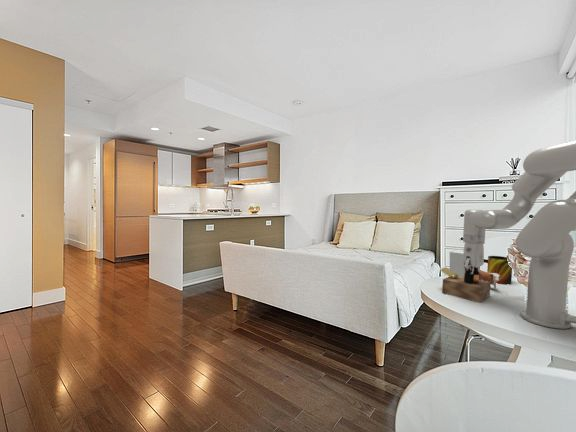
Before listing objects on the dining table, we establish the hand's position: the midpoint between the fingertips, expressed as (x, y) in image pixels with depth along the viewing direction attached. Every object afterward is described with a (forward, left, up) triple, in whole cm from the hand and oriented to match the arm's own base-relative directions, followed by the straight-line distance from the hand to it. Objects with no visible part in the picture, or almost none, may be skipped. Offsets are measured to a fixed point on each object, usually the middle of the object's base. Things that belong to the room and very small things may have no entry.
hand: (471, 281), depth 115 cm
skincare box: (+11, -19, -6) cm, 23 cm away
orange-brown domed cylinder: (0, 0, -6) cm, 6 cm away
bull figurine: (-1, -18, -6) cm, 19 cm away
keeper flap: (+9, 0, +1) cm, 9 cm away
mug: (+1, -34, -6) cm, 34 cm away
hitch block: (+2, 0, -6) cm, 6 cm away
